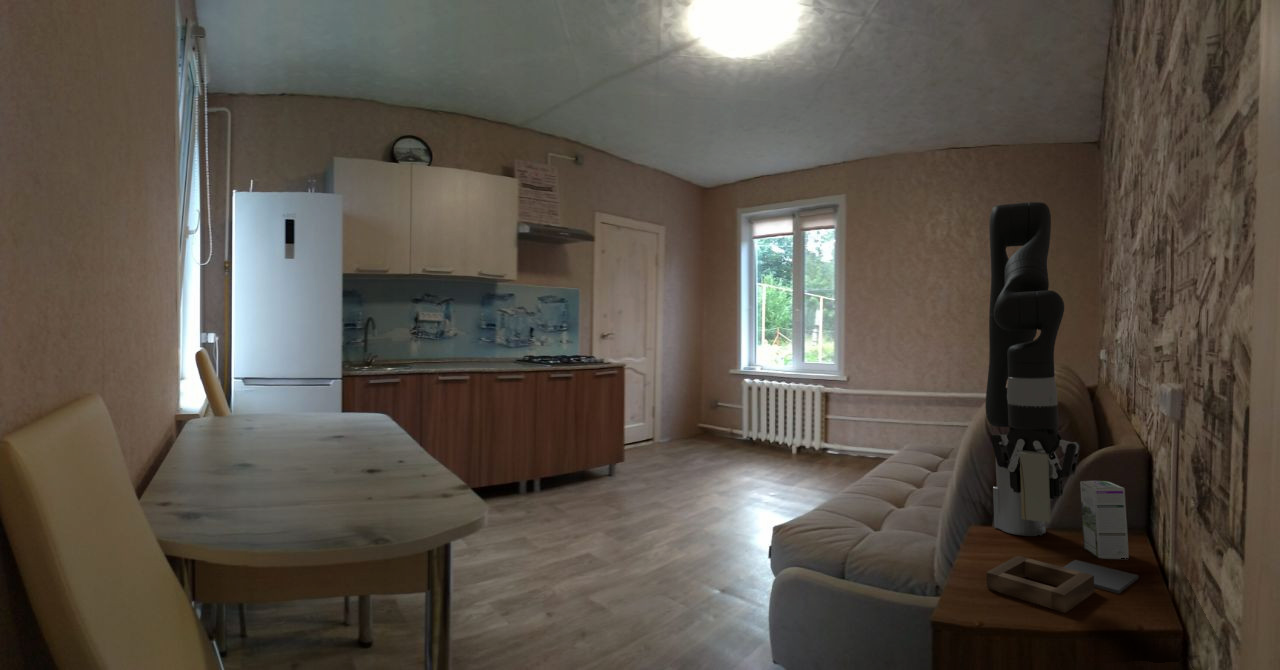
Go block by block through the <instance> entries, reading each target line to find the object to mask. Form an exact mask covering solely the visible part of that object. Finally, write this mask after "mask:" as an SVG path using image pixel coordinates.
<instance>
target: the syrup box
mask: <svg viewBox="0 0 1280 670" xmlns="http://www.w3.org/2000/svg"><path fill="white" fill-rule="evenodd" d="M1079 485H1080V501H1081V502H1080V505H1081V519H1082V521H1081V522H1082V539H1083V549H1084V550H1085V551H1087V552H1089V553H1090V554H1092V555H1093V556H1095V557H1096V558H1098V559H1103V560H1104V559H1105V560H1122V559H1121V558H1125V559H1124V560H1127V559H1126V558H1129V559H1130V557H1129V555H1130V554H1129V540H1128V539H1129V537H1128V520H1127V507H1126V504H1127V503H1126V488H1125V487H1123V486H1120V485H1119V484H1115V483H1113V482H1111V481H1109V480H1083V481H1082V480H1080V482H1079Z"/></svg>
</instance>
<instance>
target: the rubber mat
mask: <svg viewBox="0 0 1280 670" xmlns="http://www.w3.org/2000/svg"><path fill="white" fill-rule="evenodd" d="M1063 567H1064V568H1068V569H1071V570H1075V571H1079V572H1083V573H1087V574H1091V575H1094V588H1097V589H1099V590H1102V591H1103V590H1104V591H1106V592H1111V593H1114V594H1118V595H1119V594H1121V593H1122V592H1123V591H1124V590H1126V589H1127V588H1128V587H1129V586H1131V585H1132V584H1133V583H1135V582H1136V581H1138V580H1139V575H1138V574H1135V573H1129V572H1127V571H1122V570H1119V569H1114V568H1110V567H1106V566H1101V565H1098V564H1094V563H1091V562H1086V561H1082V560H1078V559H1074V560H1073V561H1070V562H1069V563H1067V564H1066V565H1064V566H1063Z"/></svg>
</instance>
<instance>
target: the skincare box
mask: <svg viewBox="0 0 1280 670" xmlns="http://www.w3.org/2000/svg"><path fill="white" fill-rule="evenodd" d="M1020 475H1021V512H1022V519H1025V520H1032V521H1040V522H1045V523H1048V524H1049V523H1051V517H1052V513H1051V512H1052V511H1051V508H1052V507H1051V506H1052V505H1051V499H1050V486H1049V478H1051V476H1050V474H1049V454H1043V453H1038V452H1034V451H1025V450H1023V451H1020Z"/></svg>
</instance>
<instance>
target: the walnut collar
mask: <svg viewBox="0 0 1280 670" xmlns="http://www.w3.org/2000/svg"><path fill="white" fill-rule="evenodd" d="M985 574H986V575H985V576H986V589H987V588H988V589H987V590H990V589H991V591H993V590H994V592H996V591H997V593H999V594H1002V595H1007V596H1009V597H1014V598H1016V599H1019V600H1022V601H1025V600H1026V602H1028V601H1030V602H1029V603H1032V602H1033V603H1032V604H1035V603H1037V604H1036V605H1038V604H1040V605H1039V606H1041V605H1042V606H1041V607H1044V606H1045V607H1044V608H1047V607H1048V609H1051V610H1054V611H1057V612H1060V613H1064V614H1066V613H1068V612H1069V611H1070V610H1072V609H1073V608H1075V607H1076V606H1078V605H1079V604H1080V603H1082V602H1083V601H1085V600H1086V599H1087V598H1088V597H1090V596H1091V595H1093V594H1095V587H1094V575H1091V574H1087V573H1083V572H1079V571H1075V570H1071V569H1068V568H1064V566H1059V565H1056V564H1052V563H1047V562H1044V561H1041V560H1036V559H1032V558H1028V557H1024V556H1021V555H1016V556H1015V557H1014V556H1013V558H1010V559H1008V560H1006V561H1005V562H1003V563H1001V564H999V565H997V566H995V567H993V568H991V569H990V570H988V571H986V573H985ZM1024 576H1026V577H1024ZM1023 577H1024V578H1023ZM1027 577H1031V578H1033V579H1031V578H1030V579H1026V578H1027ZM1034 579H1036V580H1034ZM1033 580H1034V581H1033ZM1038 580H1039V582H1037V581H1038ZM1041 581H1043V582H1042V583H1040V582H1041ZM1044 583H1045V584H1044ZM1047 584H1050V585H1052V586H1050V585H1047ZM1054 586H1056V587H1054Z"/></svg>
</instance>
